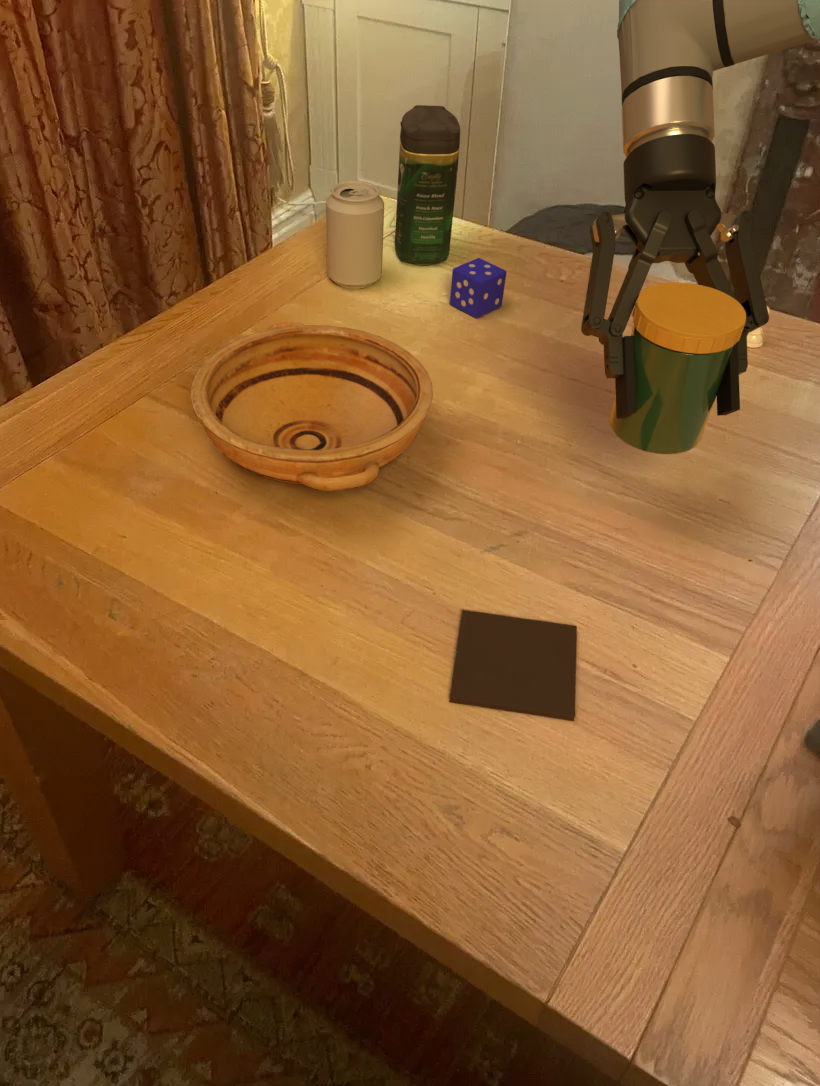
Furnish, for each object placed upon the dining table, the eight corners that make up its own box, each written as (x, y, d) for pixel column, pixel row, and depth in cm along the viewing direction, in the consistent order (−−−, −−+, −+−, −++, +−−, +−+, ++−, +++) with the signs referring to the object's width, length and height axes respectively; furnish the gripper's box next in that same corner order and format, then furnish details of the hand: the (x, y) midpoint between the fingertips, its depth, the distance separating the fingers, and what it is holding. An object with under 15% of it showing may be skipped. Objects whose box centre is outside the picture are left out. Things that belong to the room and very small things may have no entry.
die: (474, 292, 122) (478, 256, 118) (502, 306, 119) (507, 270, 116) (448, 304, 119) (452, 268, 116) (476, 319, 117) (480, 282, 113)
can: (336, 262, 127) (336, 173, 118) (388, 270, 126) (391, 181, 117) (319, 286, 122) (317, 195, 113) (372, 295, 121) (375, 204, 112)
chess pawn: (734, 339, 115) (747, 302, 111) (751, 335, 116) (764, 298, 112) (749, 350, 113) (763, 313, 109) (767, 345, 114) (781, 309, 110)
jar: (698, 407, 86) (736, 293, 78) (705, 460, 80) (747, 343, 72) (609, 396, 87) (637, 283, 79) (609, 448, 81) (640, 331, 73)
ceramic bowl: (183, 388, 104) (173, 324, 98) (386, 363, 109) (388, 301, 103) (221, 560, 84) (212, 493, 79) (467, 520, 89) (476, 454, 83)
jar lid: (734, 306, 79) (741, 288, 78) (745, 360, 73) (752, 341, 71) (630, 295, 80) (635, 277, 78) (633, 347, 74) (638, 328, 72)
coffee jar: (452, 268, 127) (465, 125, 113) (396, 267, 126) (402, 124, 113) (446, 237, 133) (458, 99, 120) (393, 237, 133) (398, 98, 120)
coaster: (575, 630, 79) (577, 625, 79) (573, 721, 72) (575, 716, 72) (461, 614, 80) (462, 609, 80) (449, 702, 73) (449, 697, 73)
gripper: (764, 169, 83) (772, 418, 83) (536, 171, 81) (545, 425, 82) (810, 128, 75) (819, 402, 76) (560, 129, 74) (570, 409, 74)
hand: (677, 413), depth 79 cm, fingers closed on jar, 8 cm apart
